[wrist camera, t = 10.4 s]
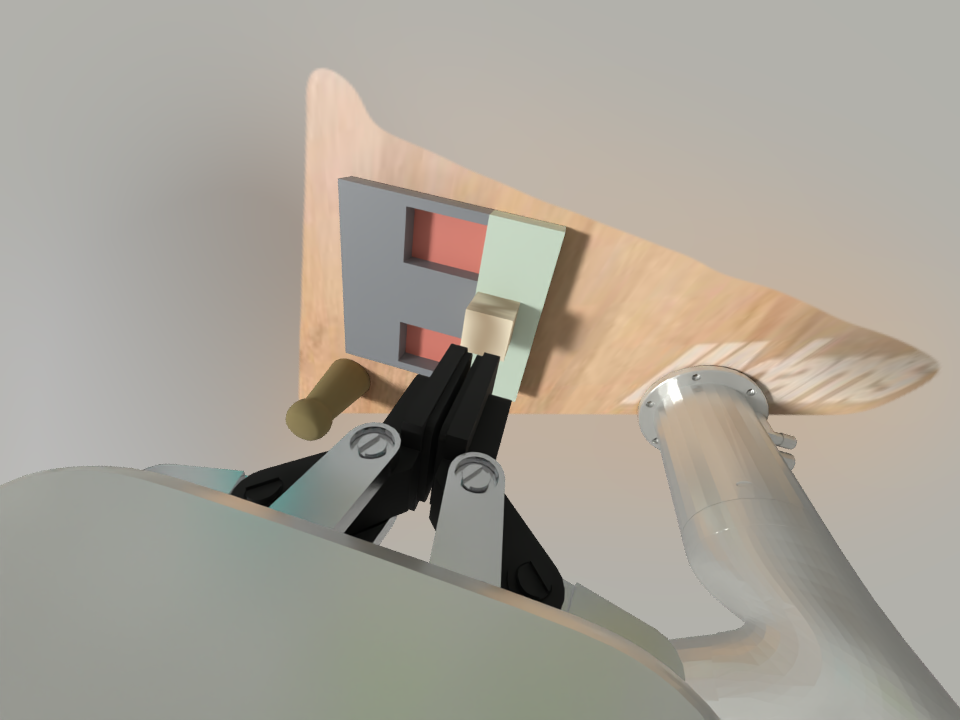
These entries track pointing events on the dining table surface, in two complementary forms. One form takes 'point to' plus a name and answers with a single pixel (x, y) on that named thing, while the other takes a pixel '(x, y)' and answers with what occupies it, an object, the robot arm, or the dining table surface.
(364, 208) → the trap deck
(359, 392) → the olive pawn
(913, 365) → the dining table surface
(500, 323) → the beech block
